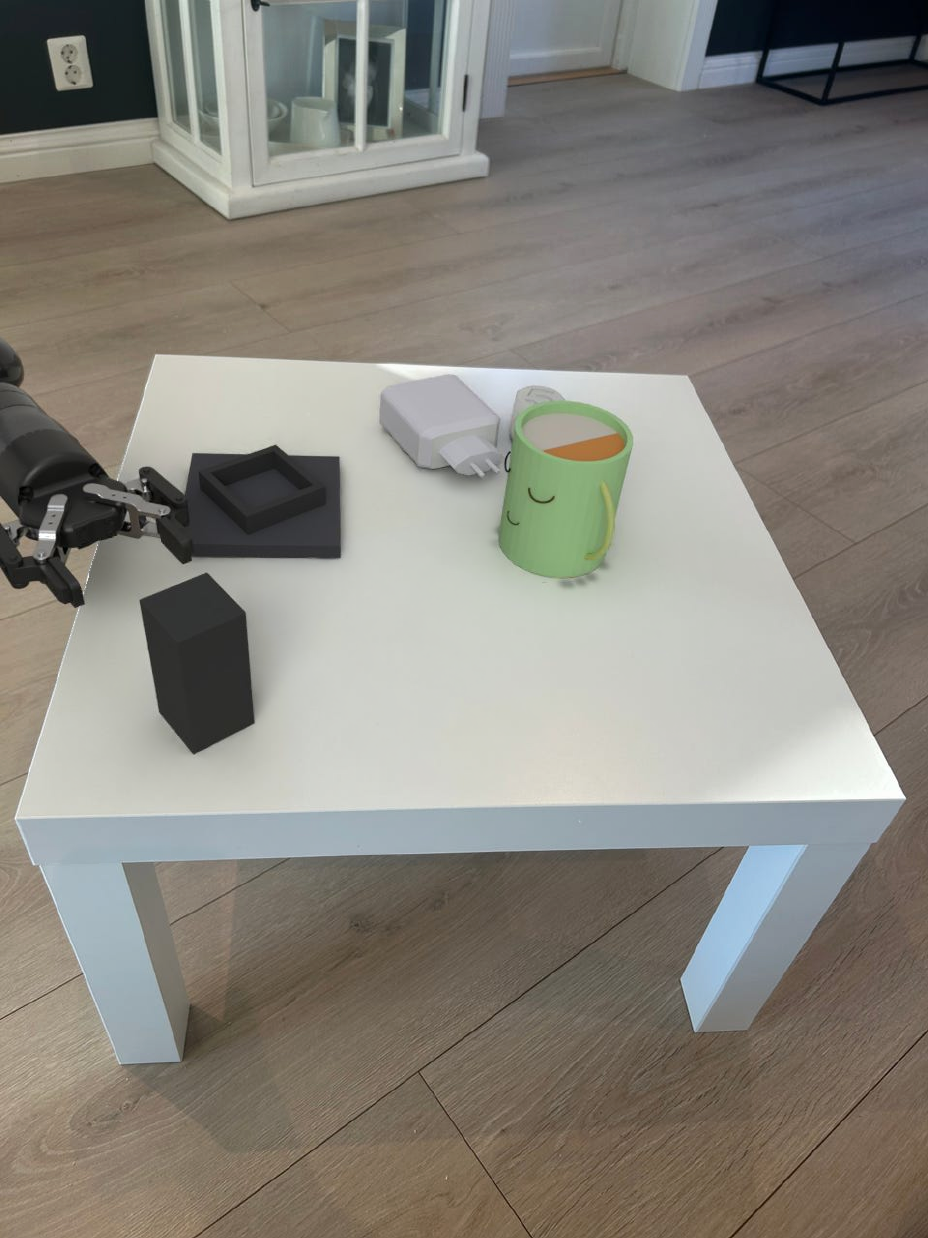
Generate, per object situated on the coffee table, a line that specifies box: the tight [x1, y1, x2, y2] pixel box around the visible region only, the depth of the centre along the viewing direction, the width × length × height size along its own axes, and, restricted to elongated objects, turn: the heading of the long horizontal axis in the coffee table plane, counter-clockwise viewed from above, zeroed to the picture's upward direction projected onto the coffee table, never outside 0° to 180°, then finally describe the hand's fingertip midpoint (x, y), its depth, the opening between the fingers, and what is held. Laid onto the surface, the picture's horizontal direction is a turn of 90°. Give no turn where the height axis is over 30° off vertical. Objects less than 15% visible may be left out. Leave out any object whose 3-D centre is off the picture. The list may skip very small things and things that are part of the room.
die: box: [508, 385, 566, 441], centre depth 101 cm, size 5×5×5 cm
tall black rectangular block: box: [138, 571, 255, 755], centre depth 67 cm, size 5×5×11 cm
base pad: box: [184, 444, 342, 559], centre depth 88 cm, size 14×14×4 cm
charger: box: [378, 373, 505, 478], centre depth 97 cm, size 5×9×15 cm
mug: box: [498, 400, 634, 579], centre depth 85 cm, size 13×10×12 cm
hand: (134, 575), depth 70 cm, fingers open, 8 cm apart
